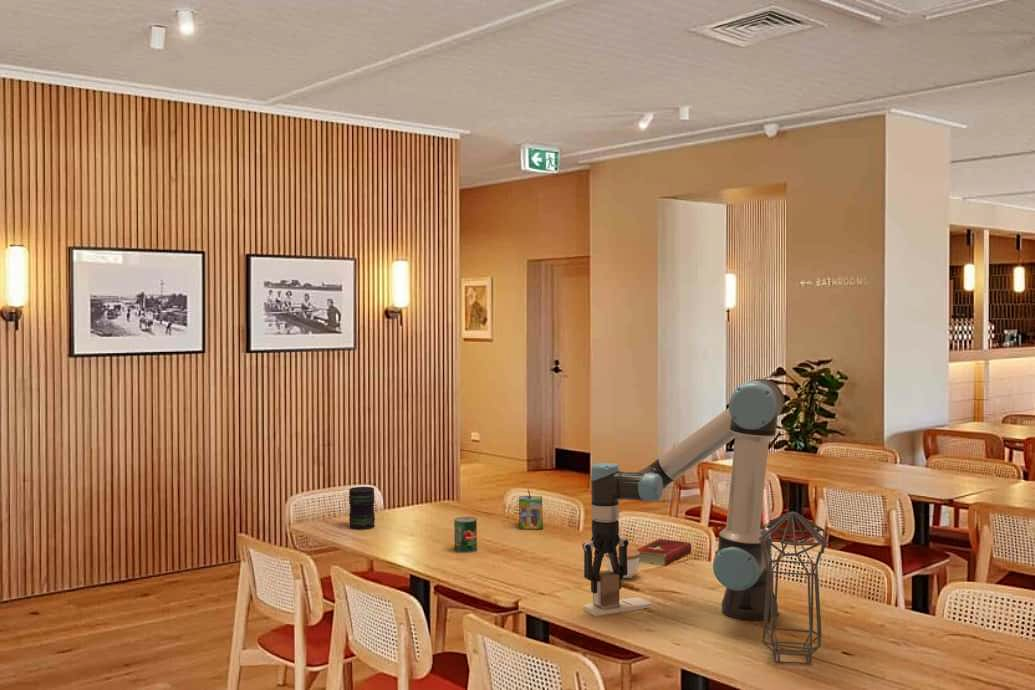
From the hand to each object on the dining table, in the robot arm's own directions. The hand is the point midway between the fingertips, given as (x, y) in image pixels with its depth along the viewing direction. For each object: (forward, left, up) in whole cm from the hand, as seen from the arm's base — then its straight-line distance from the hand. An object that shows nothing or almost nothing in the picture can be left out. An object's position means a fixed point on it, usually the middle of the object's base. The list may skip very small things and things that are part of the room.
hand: (606, 602), depth 275 cm
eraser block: (0, 0, -1) cm, 1 cm away
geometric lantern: (-52, -22, -2) cm, 57 cm away
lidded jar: (+29, -22, -2) cm, 36 cm away
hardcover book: (+45, -46, -3) cm, 64 cm away
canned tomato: (+83, +10, -2) cm, 83 cm away
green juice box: (+107, -26, -2) cm, 110 cm away
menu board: (0, -4, -2) cm, 4 cm away
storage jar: (+136, +33, -2) cm, 140 cm away
